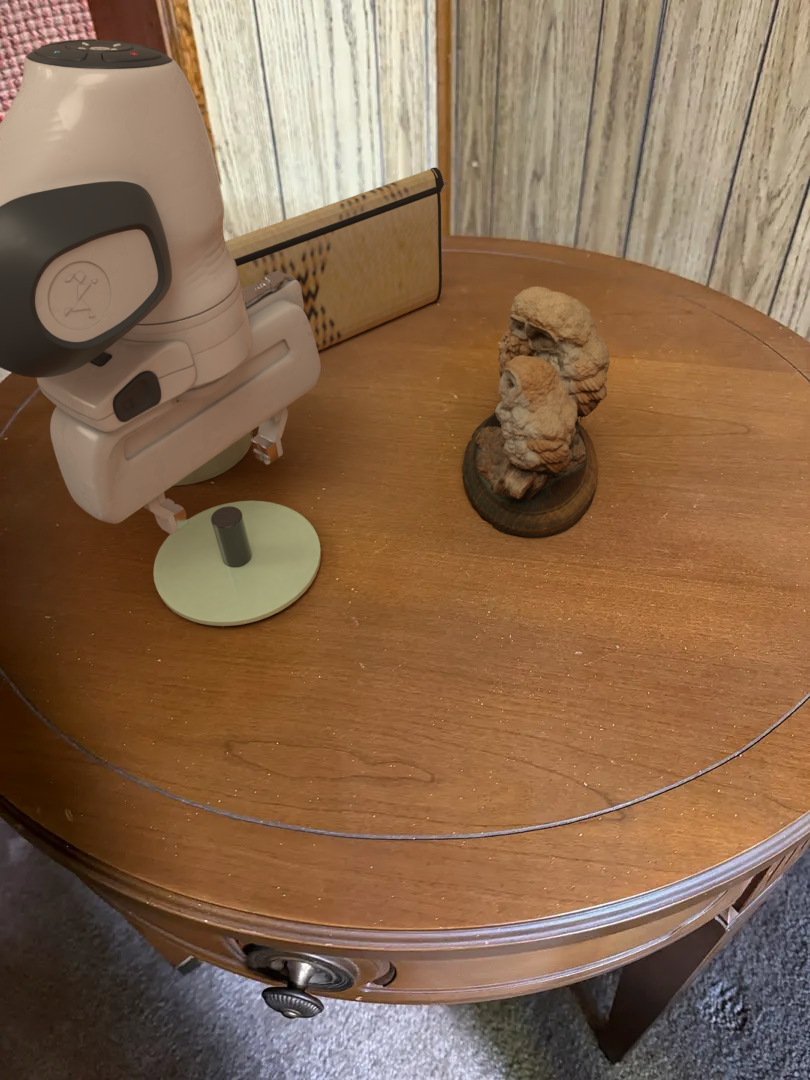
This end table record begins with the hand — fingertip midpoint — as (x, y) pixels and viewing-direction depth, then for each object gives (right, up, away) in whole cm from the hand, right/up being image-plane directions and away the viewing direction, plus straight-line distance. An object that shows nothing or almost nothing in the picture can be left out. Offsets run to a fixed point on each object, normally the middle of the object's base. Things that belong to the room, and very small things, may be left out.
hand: (223, 490), depth 63 cm
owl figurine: (+25, +3, +13) cm, 28 cm away
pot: (-7, +6, +17) cm, 20 cm away
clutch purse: (+5, +19, +30) cm, 36 cm away
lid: (0, -5, +5) cm, 8 cm away
